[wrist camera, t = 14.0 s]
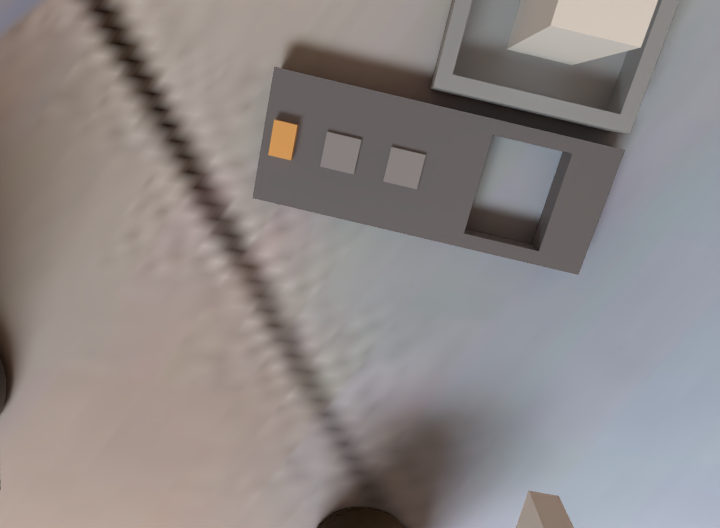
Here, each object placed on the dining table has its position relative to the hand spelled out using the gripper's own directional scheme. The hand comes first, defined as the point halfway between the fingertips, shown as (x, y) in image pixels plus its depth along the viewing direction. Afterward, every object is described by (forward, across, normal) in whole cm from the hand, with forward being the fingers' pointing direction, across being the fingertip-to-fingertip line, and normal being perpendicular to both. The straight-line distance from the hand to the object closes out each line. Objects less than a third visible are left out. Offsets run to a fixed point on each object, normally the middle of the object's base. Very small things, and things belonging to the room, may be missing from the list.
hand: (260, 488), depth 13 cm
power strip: (+27, +6, +6) cm, 29 cm away
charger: (+27, +11, +18) cm, 34 cm away
